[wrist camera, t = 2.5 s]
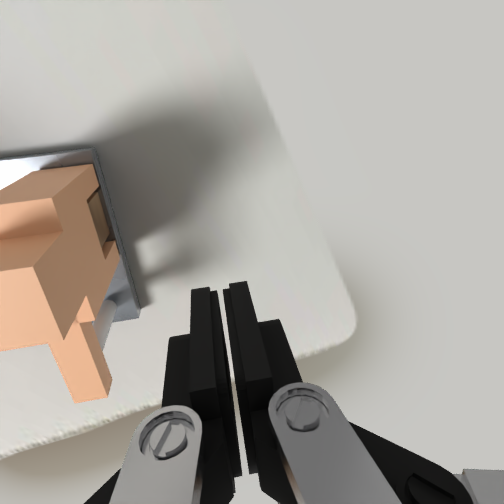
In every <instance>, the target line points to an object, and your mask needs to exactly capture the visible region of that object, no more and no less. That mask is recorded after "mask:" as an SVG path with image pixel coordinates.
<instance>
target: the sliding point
mask: <svg viewBox="0 0 504 504" xmlns="http://www.w3.org/2000/svg"><path fill="white" fill-rule="evenodd" d="M98 186H99V184H98V181H97V177H96V174H95V170H94V167H93V164H87V165H79V166H71V167H62V168H54V169H46V170H38V171H33V172H31V173H29V174H27V175H26V176H24V177H22V178H20V179H18V180H17V181H15V182H13V183H11V184H10V185H8V186H6V187H4V188H2V189H1V190H0V351H6V350H12V349H17V348H23V347H29V346H35V345H41V344H47V343H48V345H49V347H50V349H51V351H52V354H53V356H54V358H55V360H56V363H57V365H58V367H59V369H60V372H61V374H62V376H63V378H64V380H65V383H66V385H67V387H68V389H69V392H70V394H71V396H72V398H73V401H74V403H80V402H85V401H90V400H96V399H101V398H107V397H108V394H109V390H110V386H111V383H112V377H111V374H110V372H109V369H108V366H107V363H106V361H105V358H104V355H103V352H102V351H103V348H104V345H105V342H106V339H107V336H108V333H109V330H110V327H111V324H112V321H113V318H114V315H115V312H116V309H117V305H116V303H115V302H113V301H111V300H105V301H103V300H104V298H105V295H106V293H107V290H108V288H109V285H110V283H111V280H112V278H113V275H114V273H115V270H116V268H117V265H118V263H119V260H120V256H119V253H118V249H117V246H116V243H115V241H109V242H105V243H104V245H103V247H102V248H101V245H100V242H99V239H98V235H97V232H96V229H95V226H94V223H93V219H92V216H91V213H90V210H89V207H88V203H87V199H88V198H89V197H90V195H91V194H92V193H93V192H94V191H95V190H96V189H97V188H98ZM91 321H94V322H93V324H92V322H91Z"/></svg>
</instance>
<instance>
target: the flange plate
mask: <svg viewBox="0 0 504 504" xmlns="http://www.w3.org/2000/svg"><path fill="white" fill-rule="evenodd" d="M87 164H93V167H94V170H95V174H96V177H97V181H98V184H99V186H98V188H97V189H96V190H95V191H94V192H98V195H99V198H100V202H101V205H102V208H103V212H104V215H105V219H106V222H107V225H108V229H109V232H110V234H109V235H108V237H107V239H106V241H105V242H109V241H115V243H116V246H117V249H118V253H119V256H120V260H119V263H118V265H117V268H116V270H115V273H114V275H113V278H112V280H111V283H110V285H109V288H108V290H107V293H106V295H105V298H104V300H103V301H105V300H111V301H113V302H115V303H116V305H117V309H116V312H115V315H114V318H113V321H112V322H118V321H124V320H130V319H136V318H139V315H140V310H141V309H140V305H139V302H138V298H137V295H136V291H135V287H134V284H133V280H132V277H131V273H130V270H129V266H128V263H127V259H126V255H125V252H124V248H123V245H122V241H121V238H120V234H119V231H118V227H117V224H116V220H115V216H114V213H113V209H112V206H111V202H110V199H109V195H108V192H107V188H106V184H105V181H104V177H103V174H102V170H101V167H100V163H99V160H98V156H97V153H96V149H95V147H93V148H85V149H76V150H67V151H59V152H50V153H42V154H33V155H25V156H16V157H8V158H0V190H1V189H2V188H4V187H6V186H8V185H10V184H11V183H13V182H15V181H17V180H18V179H20V178H22V177H24V176H26V175H27V174H29V173H31V172H33V171H38V170H46V169H54V168H62V167H71V166H79V165H87ZM94 192H93V193H94ZM91 322H92V324H93V322H94V321H91Z"/></svg>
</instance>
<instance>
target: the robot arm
mask: <svg viewBox="0 0 504 504" xmlns="http://www.w3.org/2000/svg"><path fill="white" fill-rule="evenodd" d="M223 295H224V303H225V310H226V317H227V325H228V332H229V340H230V347H231V354H232V362H233V369H234V377H235V384H236V390H237V397H238V404H239V410H240V417H241V423H242V429H243V436H244V443H245V449H246V455H247V462H248V468H249V474H254V473H258V476H259V482H260V487H261V490H262V491H263V492H264V493H266V494H267V495H268V496H270V497H271V498H273V499H274V500H276V501H277V502H278V504H504V470H478V469H463V472H462V474H452V473H450V472H449V471H447V470H446V469H444V468H442V467H441V466H439V465H437V464H435V463H433V462H431V461H429V460H427V459H425V458H423V457H421V456H419V455H417V454H415V453H413V452H411V451H409V450H407V449H405V448H403V447H400V446H398V445H396V444H394V443H392V442H390V441H388V440H386V439H384V438H382V437H380V436H378V435H376V434H374V433H371V432H370V431H367V430H365V429H363V428H361V427H359V426H357V425H355V424H353V423H351V422H349V421H348V420H347V419H346V418H345V416H344V415H343V413H342V411H341V410H340V408H339V407H338V405H337V404H336V402H335V401H334V399H333V398H332V397H331V396H330V394H329V393H328V392H327V391H326V390H324V389H322V388H321V387H319V386H317V385H314V384H310V383H303V381H302V379H301V376H300V373H299V371H298V368H297V365H296V363H295V360H294V357H293V354H292V351H291V349H290V346H289V343H288V341H287V338H286V335H285V332H284V330H283V327H282V324H281V322H280V320H279V319H276V320H270V321H264V322H258V321H257V318H256V314H255V310H254V306H253V303H252V299H251V295H250V292H249V288H248V284H247V281H243V282H237V283H231V284H229V289H223ZM239 476H242V469H241V460H240V452H239V444H238V436H237V427H236V420H235V411H234V402H233V394H232V386H231V377H230V369H229V362H228V356H227V349H226V343H225V337H224V331H223V324H222V318H221V312H220V305H219V299H218V293H217V290H216V291H210V287H205V288H198V289H192V290H191V317H190V334H185V335H179V336H173V337H170V338H169V343H168V352H167V362H166V371H165V380H164V389H163V399H162V408H161V409H159V410H156V411H154V412H153V413H151V414H150V415H148V416H147V417H146V418H145V419H144V420H143V421H142V422H141V423H140V424H139V425H138V427H137V428H136V430H135V432H134V434H133V436H132V439H131V442H130V445H129V448H128V451H127V453H126V456H125V459H124V462H123V465H122V468H121V469H119V470H118V471H117V472H116V473H115V474H114V475H113V476H112V477H111V478H110V479H109V480H108V481H107V482H106V483H105V484H104V485H103V486H102V487H101V488H100V489H99V490H98V491H97V492H96V493H94V495H92V496H91V497H90V498H89V499H88V500H87V501H86V502H85V503H84V504H229V502H230V501H231V500H232V498H233V496H234V495H233V493H235V482H234V477H239Z"/></svg>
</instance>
